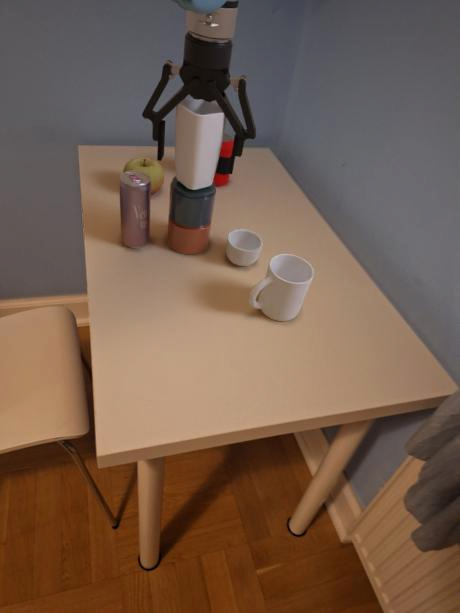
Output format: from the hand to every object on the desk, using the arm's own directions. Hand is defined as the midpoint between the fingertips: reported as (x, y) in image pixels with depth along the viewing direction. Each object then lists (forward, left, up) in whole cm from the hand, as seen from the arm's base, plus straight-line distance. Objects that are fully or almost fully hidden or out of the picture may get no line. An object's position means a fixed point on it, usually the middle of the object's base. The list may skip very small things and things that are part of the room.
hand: (195, 164), depth 78 cm
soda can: (+3, +30, -19) cm, 35 cm away
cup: (0, 0, -4) cm, 4 cm away
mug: (+19, -17, -19) cm, 32 cm away
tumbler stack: (0, 0, -18) cm, 18 cm away
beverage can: (-11, -3, -19) cm, 22 cm away
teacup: (+12, -2, -19) cm, 22 cm away
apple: (-14, +18, -19) cm, 29 cm away
